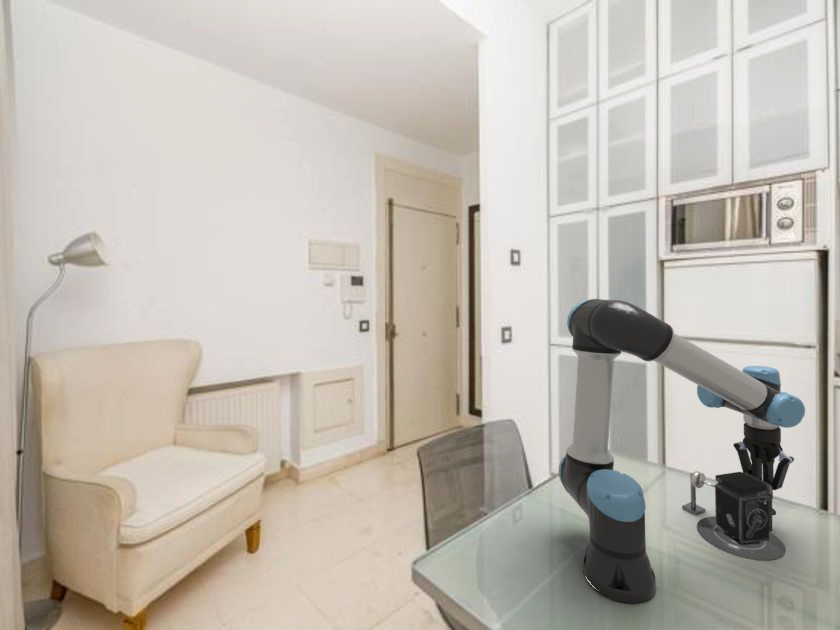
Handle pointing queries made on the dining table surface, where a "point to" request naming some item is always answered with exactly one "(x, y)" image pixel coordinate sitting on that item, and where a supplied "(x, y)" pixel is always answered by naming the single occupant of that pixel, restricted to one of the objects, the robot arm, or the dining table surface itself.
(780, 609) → the dining table surface
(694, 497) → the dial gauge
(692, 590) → the dining table surface
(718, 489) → the camera
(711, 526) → the disc
